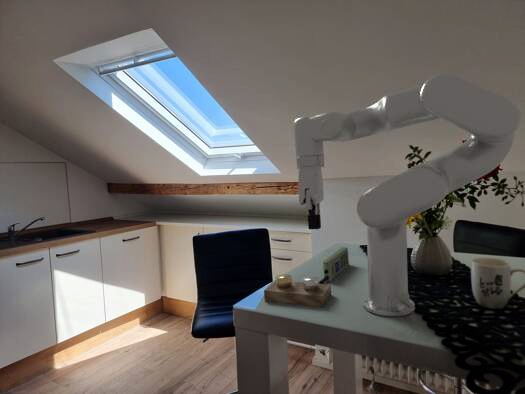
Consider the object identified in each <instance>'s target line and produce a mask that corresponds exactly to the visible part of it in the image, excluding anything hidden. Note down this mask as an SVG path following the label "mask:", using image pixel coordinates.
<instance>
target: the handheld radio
mask: <svg viewBox="0 0 525 394" xmlns="http://www.w3.org/2000/svg"><path fill="white" fill-rule="evenodd" d="M349 265H350V261H349V248H348V247H340V249H338V250H337V251H335V252H333V253H332V254H331V255H329V256H328V257H327V258H326V259H325V260H322V266H323V268H322V269H323V278H322V279H321V280H319V284H326V282H327V281H328V282H332V281H333V280H334V279H335V278H336V277H337V276H338V275H340V273H342V271H343V270H345V269H346V268H347V267H348V266H349Z"/></svg>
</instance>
